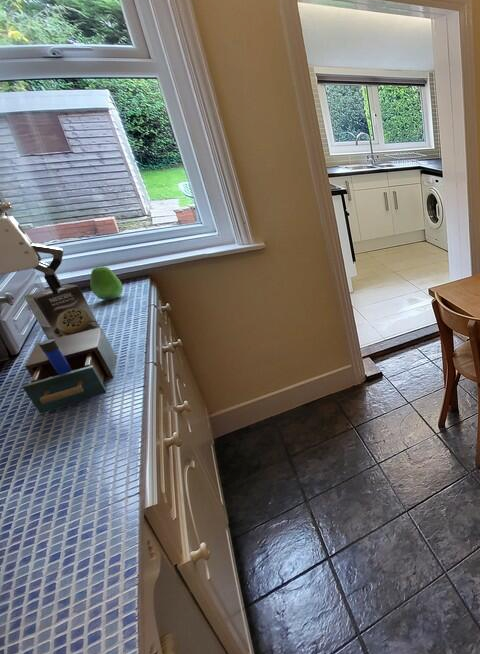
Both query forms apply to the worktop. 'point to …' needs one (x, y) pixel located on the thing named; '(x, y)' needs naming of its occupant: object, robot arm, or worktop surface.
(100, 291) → the avocado
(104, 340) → the cabinet
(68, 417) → the worktop surface
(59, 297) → the coffee box
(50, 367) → the drawer
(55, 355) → the marker
